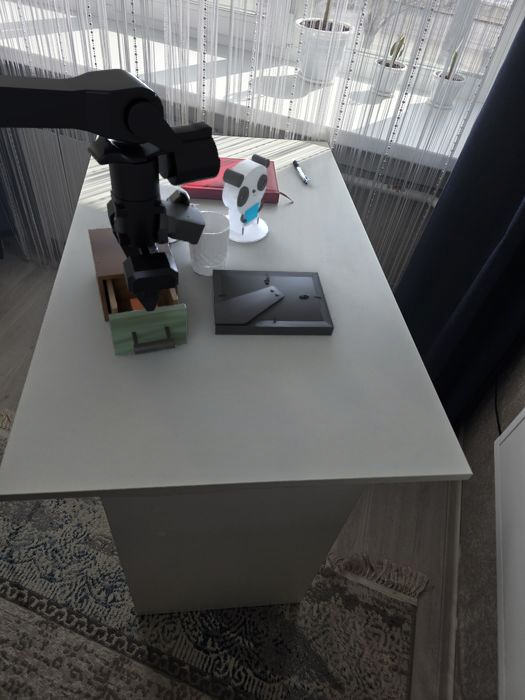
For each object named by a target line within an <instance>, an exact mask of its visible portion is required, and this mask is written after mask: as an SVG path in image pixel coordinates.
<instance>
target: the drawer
mask: <svg viewBox="0 0 525 700" xmlns="http://www.w3.org/2000/svg"><path fill="white" fill-rule="evenodd" d="M106 285H107V291H108V297H109V303H110V308H111V313H112V314H108V317H109V321H108V322H109V328H110V333H111V339H112V346H113V352H114V356H115V357H116V356H117V357H118V356H122V355H128V354H134V355H135V356H138V355H143V354H149V353H154V352H155V353H156V352H160V351H167V350H171V349H176V346H183V345H186V344H188V336H187V335H188V331H187V329H188V328H187V327H188V325H187V322H188V321H187V320H188V319H187V317H188V316H187V306H186V304H185V303H179V296H178V297H177V294H176V292H175V289H174V288H170V289H163V290H162V291H161V293H160V296H159V299H158V302H157V304H158V307H157V308H155V310H154V311H150V312H147V311H146V310H145V309H143V310H136V311H131V303H130V299H135V298H137V297H136V296H135V295H134V294H133V293H132V292H129V291H128V287H127V283H126V280H125V277H123V278H115V279H107V280H106Z"/></svg>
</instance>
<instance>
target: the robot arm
mask: <svg viewBox="0 0 525 700" xmlns="http://www.w3.org/2000/svg"><path fill="white" fill-rule="evenodd" d="M0 128H1V129H6V128H7V129H51V130H53V129H54V130H56V129H57V130H76V131H77V130H78V131H82V132H83V131H84V132H87V133H90V134H93V135H96V136H98V137H97V138H96V140H94V141H93V142H91V143H90V145H88V147H87V152H88V154H89V155H90V156H91V157H92V158H93V159H94V161H96V162H97V163H98V165H99V166H105V165H108V171H109V179H110V180H109V181H110V187H111V188H110V190H109V192H110V198H111V199H110V200H109V201H108V202H107V203H106V212H107V217H108V221H109V224H110V228H112V231H113V234H114V236H115V237H116V239H117V241H118V243H119V244H120V246H121V248H122V250H123V252H124V253H125V255H126V257H127V259H126V260H125V261H124V262H123V270H124V275H125V280H126V283H127V287H128V291H129V292H132V293H133V294H134V295H135V296H136V297H137V299H138V300H139V301H140V303H141V304H142V305H143V307H144V308H145V310H146V311H147V312H150V311H154V310H155V308H156V305H157V302H158V299H159V296H160V293H161V291H162V290H163V289H170V288H176V287H177V288H178V287H179V285H180V281H179V276H180V275H179V271H178V267H177V268H176V266H177V264H176V262H175V263H174V261H175V259H174V260H173V258H174V256H173V257H171V256H170V255H169V254H167V253H166V252H160V253H159V251H158V248H157V246H156V243H158V244H168V237H170V238H172V239H176V240H178V241H181V242H185V243H188V244H189V243H190V244H193V245H196V244H198V242H199V239H200V237H201V235H202V232H203V230H204V227H205V225H206V222H205V220H204V219H203V217H202V215H201V213H200V212H201V210H199V209H198V208H197V207H196V205H195V204H192V203H191V202H190V198H188V196H187V194H186V192H187V191H186V192H184V191H180V190H176V191H175V192H174V193H173V194H172V195H171V196H170V197H169V198H167V200H166V201H165V200H161V195H160V184H161V182H160V177H161V179H163V180H167V181H168V182H169V185H174V186H177V187H178V186H182V185H186V184H193V183H196V182H200V181H207V180H213V179H215V178H217V177H218V175H219V174H220V170H221V158H220V156H219V151H218V150H219V149H218V146H217V144H216V141H215V139H214V137H213V127H212V126H211V125H209V124H208V123H207V122H205V121H204V120H202V121H201V120H200V121H195V122H192V123H189V124H185V125H183V124H182V125H176V126H170V124H169V123H168V122H167V120H166V119H165V108H164V105H163V102H162V99H161V98H160V97H159V95H158V94H157V92H156V91H154V90H153V89H152V88H151V87H149V86H148V85H147V84H145V83H144V82H143V81H141V80H140V79H139V78H137V76H135V75H134V74H132V73H131V72H130V71H128V70H126V69H122V68H111V69H109V68H108V69H99V70H91V71H86V72H84V73H81V74H79V75H76V76H74V77H67V78H66V77H65V78H51V77H39V76H26V75H25V76H24V75H10V74H0ZM168 245H169V244H168ZM148 247H149V248H148ZM149 250H150V251H149ZM175 264H176V265H175Z"/></svg>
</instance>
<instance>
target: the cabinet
mask: <svg viewBox="0 0 525 700" xmlns="http://www.w3.org/2000/svg"><path fill="white" fill-rule="evenodd" d="M87 232H88V238H89V243H90V248H91V255H92V261H93V264H94V272H95V277H96V281H97V286H98V292H99V293H98V294H99V297H100V302H101V303H100V304H101V309H102V313H103V320H104V323H107V322H109V317H108V314H112V313H111V308H110V303H109V297H108V291H107V285H106V280H107V279H115V278H123V277H125V275H124V270H123V262H124V261H125V260H126V259H127V257H126V255H125V253H124V252H123V250H122V248H121V246H120V244H119V243H118V241H117V239H116V237H115V236H114V234H113V231H112V228H111V227H102V228H101V227H100V228H90V229H89V228H88V230H87ZM156 246H157V248H158V251H159V253H160V252H166V253H167V254H169V255H170V256H171V257H173V260H174V263H175V265H176V268H177V269H178V267H177V264H176V261H175V258H174V256H173V253H172V250H171V248H170V244H158V243H156ZM148 248H149V247H148ZM149 251H150V250H149ZM174 289H175V292H176V294H177V297H178V298H179V292H178V286H177V287H176V288H174Z"/></svg>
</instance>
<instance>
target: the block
mask: <svg viewBox="0 0 525 700" xmlns="http://www.w3.org/2000/svg"><path fill="white" fill-rule="evenodd" d="M130 303H131V311H136V310H143V309H145V308H144V307H143V305H142V304H141V303H140V301H139V300H138V299H137V298H135V299H130ZM157 307H158V304H157V305H156V308H157Z"/></svg>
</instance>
